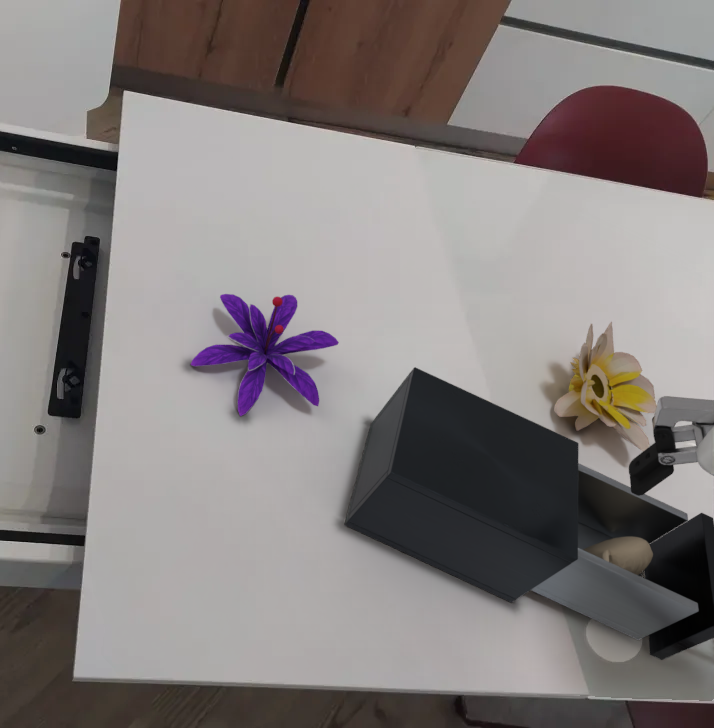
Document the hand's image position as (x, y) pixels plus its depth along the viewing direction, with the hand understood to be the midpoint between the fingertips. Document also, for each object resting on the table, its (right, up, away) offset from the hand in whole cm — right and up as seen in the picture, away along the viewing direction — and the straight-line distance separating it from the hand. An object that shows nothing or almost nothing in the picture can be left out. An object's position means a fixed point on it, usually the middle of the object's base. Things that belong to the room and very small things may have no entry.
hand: (688, 505), depth 60 cm
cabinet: (-17, -2, +11) cm, 21 cm away
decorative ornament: (-3, -8, +10) cm, 13 cm away
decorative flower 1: (-34, +11, +16) cm, 39 cm away
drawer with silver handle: (0, -10, +10) cm, 14 cm away
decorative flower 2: (+4, +6, +26) cm, 27 cm away
